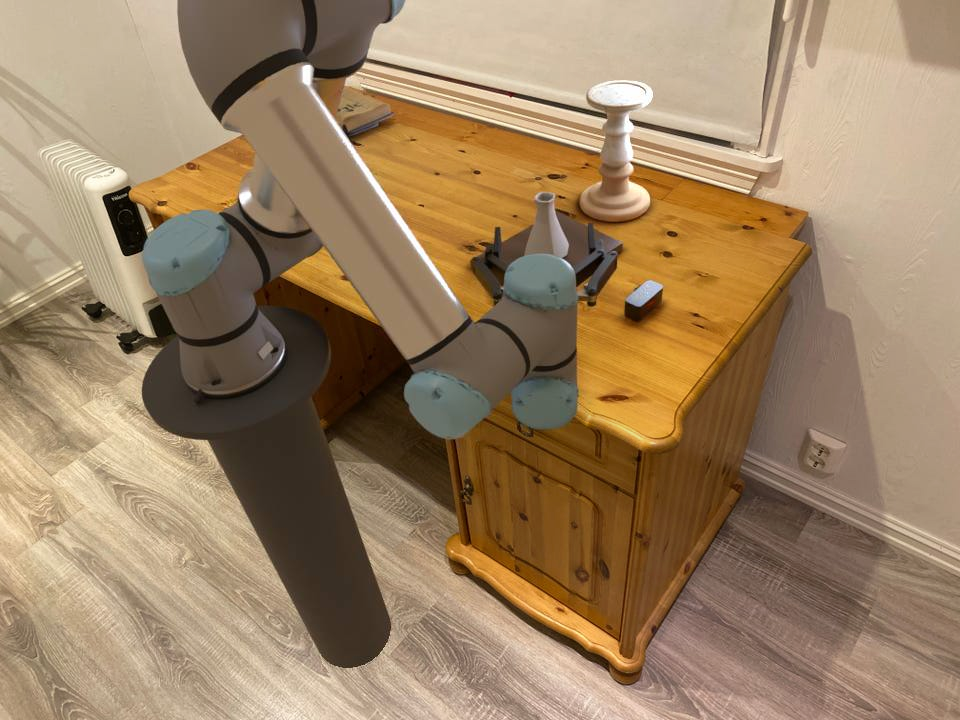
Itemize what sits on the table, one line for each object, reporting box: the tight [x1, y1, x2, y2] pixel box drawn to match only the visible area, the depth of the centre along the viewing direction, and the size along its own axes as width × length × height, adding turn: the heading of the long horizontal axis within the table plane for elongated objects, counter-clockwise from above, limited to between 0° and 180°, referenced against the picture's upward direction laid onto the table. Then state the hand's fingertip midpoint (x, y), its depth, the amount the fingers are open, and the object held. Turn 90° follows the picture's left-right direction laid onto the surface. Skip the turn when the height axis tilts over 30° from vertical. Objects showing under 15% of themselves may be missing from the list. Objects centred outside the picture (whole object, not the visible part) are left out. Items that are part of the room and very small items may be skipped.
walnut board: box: [469, 210, 624, 287], centre depth 116 cm, size 20×15×2 cm
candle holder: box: [579, 79, 653, 223], centre depth 120 cm, size 12×12×20 cm
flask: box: [524, 191, 569, 258], centre depth 112 cm, size 7×7×10 cm
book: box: [336, 85, 395, 137], centre depth 157 cm, size 25×17×6 cm
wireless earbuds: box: [623, 279, 664, 323], centre depth 104 cm, size 5×7×3 cm, turn 136°
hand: (544, 232), depth 106 cm, fingers open, 13 cm apart
